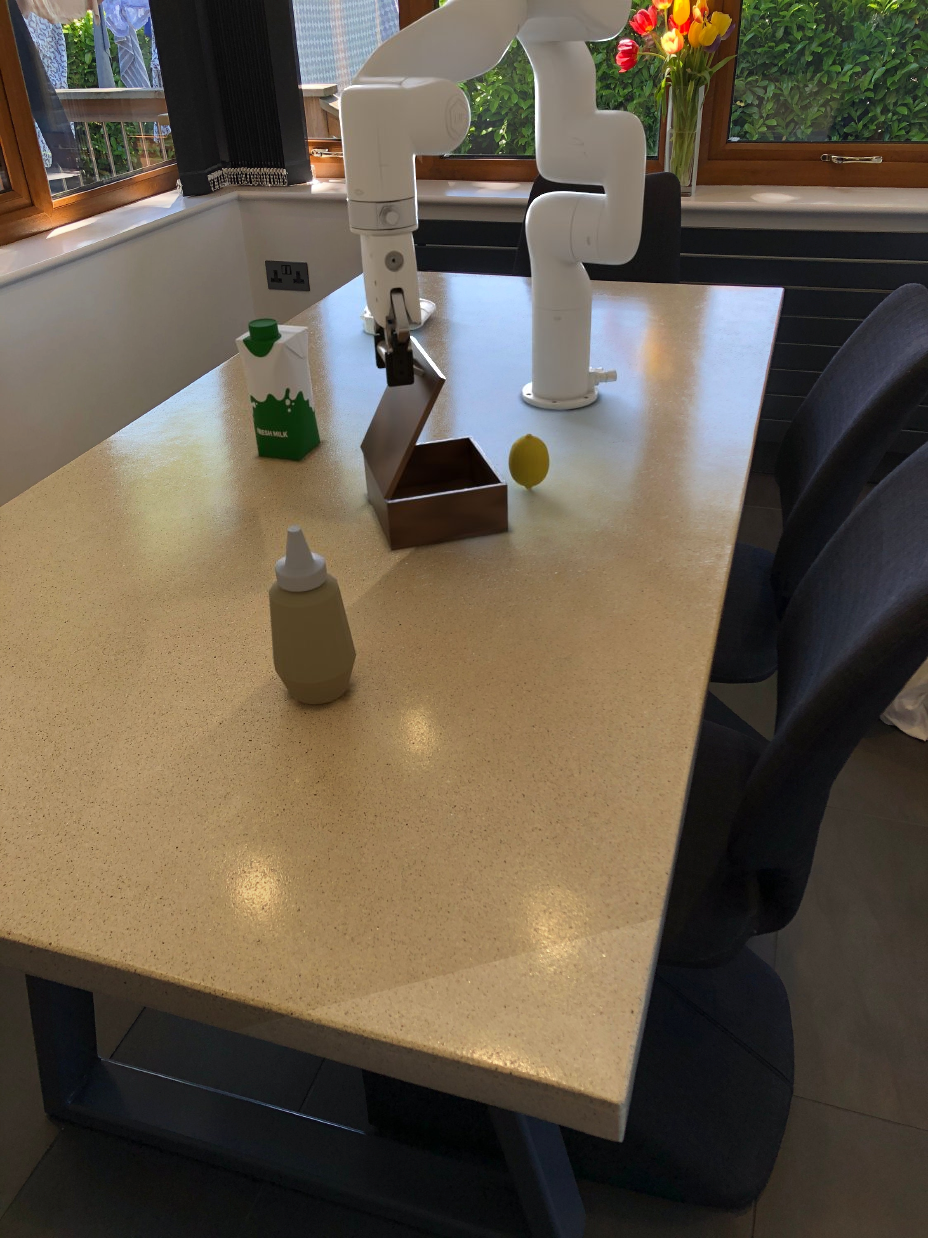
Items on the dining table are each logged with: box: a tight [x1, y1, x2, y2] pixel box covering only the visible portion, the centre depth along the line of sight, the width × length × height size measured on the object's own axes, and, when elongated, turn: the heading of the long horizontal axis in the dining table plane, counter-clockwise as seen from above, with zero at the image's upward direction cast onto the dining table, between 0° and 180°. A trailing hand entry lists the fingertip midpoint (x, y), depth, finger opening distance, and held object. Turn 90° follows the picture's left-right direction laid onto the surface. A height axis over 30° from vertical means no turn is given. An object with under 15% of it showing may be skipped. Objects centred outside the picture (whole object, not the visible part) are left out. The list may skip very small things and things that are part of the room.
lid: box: [359, 336, 446, 500], centre depth 113 cm, size 16×16×6 cm
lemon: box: [508, 433, 550, 490], centre depth 125 cm, size 6×6×8 cm
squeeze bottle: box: [268, 525, 357, 705], centre depth 87 cm, size 8×8×18 cm
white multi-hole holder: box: [357, 298, 437, 335], centre depth 193 cm, size 3×18×15 cm
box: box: [362, 435, 509, 552], centre depth 120 cm, size 15×16×7 cm
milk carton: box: [234, 317, 322, 462], centre depth 136 cm, size 9×9×20 cm
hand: (394, 374), depth 111 cm, fingers closed on lid, 6 cm apart
